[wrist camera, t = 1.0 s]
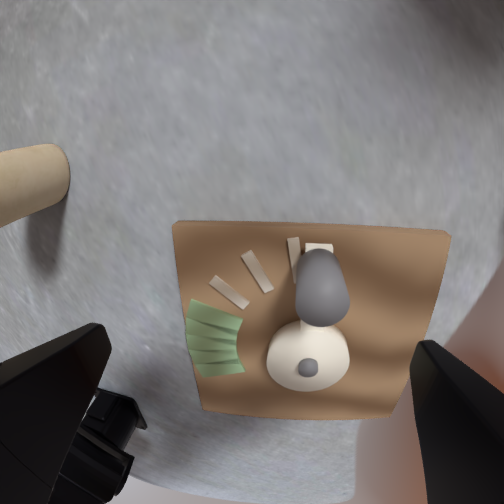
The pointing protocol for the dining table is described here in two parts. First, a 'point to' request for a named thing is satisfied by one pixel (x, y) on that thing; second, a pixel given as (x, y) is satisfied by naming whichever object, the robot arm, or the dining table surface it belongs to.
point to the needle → (313, 326)
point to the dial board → (284, 312)
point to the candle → (31, 180)
